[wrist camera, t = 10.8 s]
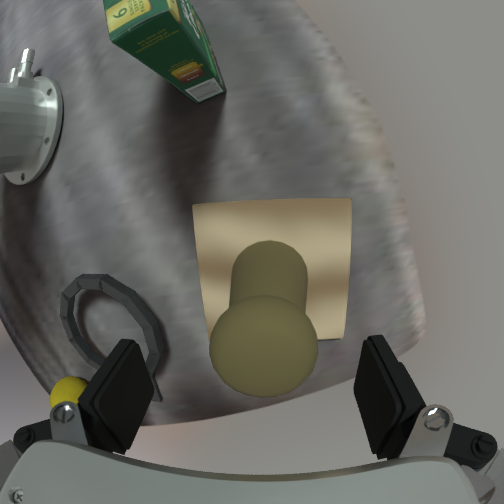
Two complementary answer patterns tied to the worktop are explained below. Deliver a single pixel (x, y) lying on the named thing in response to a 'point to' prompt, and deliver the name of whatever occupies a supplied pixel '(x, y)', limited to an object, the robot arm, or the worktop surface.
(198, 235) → the cork mat
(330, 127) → the worktop surface
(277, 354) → the pepper shaker
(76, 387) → the lemon
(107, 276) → the ring stand
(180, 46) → the coffee box
